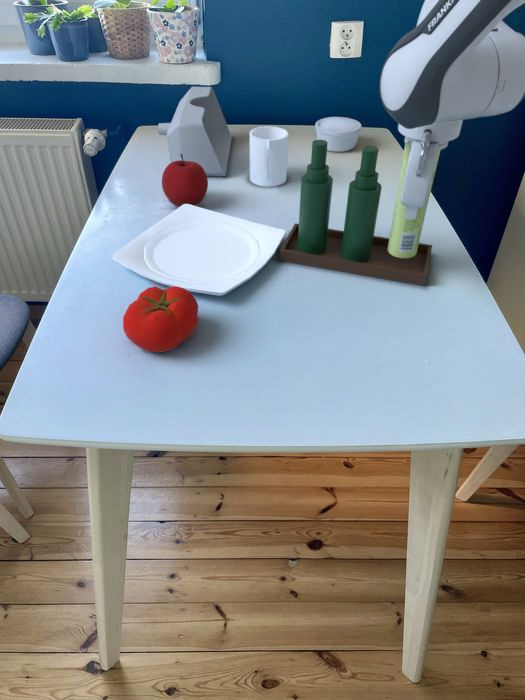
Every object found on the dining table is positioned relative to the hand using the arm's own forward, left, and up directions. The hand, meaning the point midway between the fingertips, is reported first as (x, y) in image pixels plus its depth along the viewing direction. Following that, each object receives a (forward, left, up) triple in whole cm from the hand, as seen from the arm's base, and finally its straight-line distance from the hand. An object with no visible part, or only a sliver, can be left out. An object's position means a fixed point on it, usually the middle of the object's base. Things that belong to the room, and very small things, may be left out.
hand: (412, 208), depth 87 cm
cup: (+32, -25, -11) cm, 42 cm away
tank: (+53, -34, -11) cm, 64 cm away
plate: (+34, +8, -11) cm, 37 cm away
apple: (+45, -10, -11) cm, 47 cm away
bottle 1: (+16, 0, -10) cm, 19 cm away
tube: (0, 0, -8) cm, 8 cm away
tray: (+8, 0, -11) cm, 14 cm away
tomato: (+31, +30, -11) cm, 44 cm away
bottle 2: (+8, 0, -10) cm, 13 cm away
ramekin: (+22, -51, -11) cm, 57 cm away
